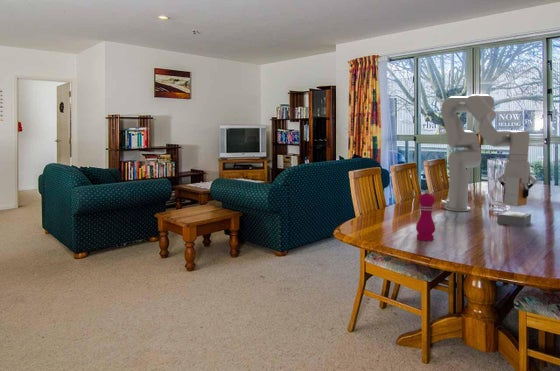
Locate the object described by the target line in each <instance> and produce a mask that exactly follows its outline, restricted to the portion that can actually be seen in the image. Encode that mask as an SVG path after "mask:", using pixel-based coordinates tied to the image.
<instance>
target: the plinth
mask: <svg viewBox="0 0 560 371" xmlns="http://www.w3.org/2000/svg"><path fill="white" fill-rule="evenodd" d="M531 219H532V213H526V212H518V211H513V210H512V211H509V210H505V211H503V212H500V213H498V214H497V221H496V223H497V224H501V225H503V224H504V225H510V226H516V227H523V228H524V227H526V226H527V225H529V224H530V223H531Z"/></svg>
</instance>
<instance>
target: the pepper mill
mask: <svg viewBox="0 0 560 371" xmlns="http://www.w3.org/2000/svg"><path fill="white" fill-rule="evenodd" d="M435 201H436V199H435V197H434V195H432V194H431V193H430V190H429V189H425V190H424V193H422V194H421V195H420V196H419V198H418V203H419V209H420V217H419V219H418V221H417V223H416V226H415V230H416V232H417V235H416V239H417V240H419V241H422V242H432V241H434V233H435V232H436V226H435V222H434V220H433V215H432V214H433V213H432V212H433V210H434V206H433V205H434V204H435Z"/></svg>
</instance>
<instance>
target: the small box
mask: <svg viewBox="0 0 560 371" xmlns="http://www.w3.org/2000/svg"><path fill="white" fill-rule="evenodd" d="M521 182H522V178H517V177H506V182H505V183H506V185H505V194H504V202H503V204H504V205H505V206H511V207H521V206H526V205H527V202H528V201H527V200H528V197H527V198H523V197H524V190H525V187H524V185H523V184H522V183H521Z"/></svg>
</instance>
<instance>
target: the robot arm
mask: <svg viewBox="0 0 560 371" xmlns="http://www.w3.org/2000/svg"><path fill="white" fill-rule="evenodd" d="M494 106H495V100H494V97H492V96H491V95H490V94H484V93H483V94H479V93H477V94H475V93H474V94H471V95H470V94H469V96H462V95H454V96H448V97H447V98H445V99H444V101H443V102H442V104H441V107H440V110H441V111H440V113H441V114H440V115H441V118H442V120H443V122H444V123H443V124H444V127H445V133H446V138H447V140H446V141H447V144H448V146H449V148H451V149H461V150H455V151H454V150H453V151H451V153H449V155H448V158H447V162H448V163H447V164H448V167H449V168H448V171H449V172H448V173H449V176H448V177H449V178H448V199H447V200H443V199H441V201H440V203H441V205H445V206H444V209H445V210H448V211H450V212H451V211H452V212H469V211H471V207H470V206H468V202H469V201H468V200H469V199H468V197H469V182H470V181H469V180H470V179H469V178H470V176H469V175H470V174H469V172H468V170H467V169H471V168H477V167H478V166H480V164H481V163H482V152H481V148H480V141H479V137H478V135H477V133H476V132H474V131H472V130H465V129H464V127H463V122H462V120H461V118H460V116H459V115H458V114H457V113H459V114H460V113H461V114H462V113H464V114H465V113H466V114H467V113H469V114H470V113H471V115H472V116H473V118H474V119H476V121H477V122H478V123H479V125H478V130H479V134H480V136H481V137H482V138H483V140H484V141H485V142H486V143H487V144H488V145H489V146H492V147H494V148H495V147H496V148H497V147H498V148H500V147H501V148H502V147H504V148H505V147H507V148H508V147H509V151H508V152H509V153H508V154H507V155H505V159H507V161H506V162H505V166H504V173H503V175H501V176H499V177H498V178H497V181H498V182H499V184H500V185H501V186H502V187H503V195H505V185H506V177H517V178H522V182H521V183H522V184H523V185H524V187H525V190H524V197H523V198H527V199H528V197H529V191H530V189H531V188H532V187H534V185H536V184H537V183H538V180H537V179H536V178H535V177H533V176H532V175H531V164H530V161H528V160H529V147H530V132H529V131H527V130H513V129H512V130H509V129H507V130H505V129H504V130H503V129H502V130H501V129H498V130H497V129H496V127H494V125H493V124H492V122H493V121H494V120H495V118H496V117H497V112H496V111H495V110H494ZM530 182H531V183H530ZM529 183H530V184H529Z"/></svg>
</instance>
